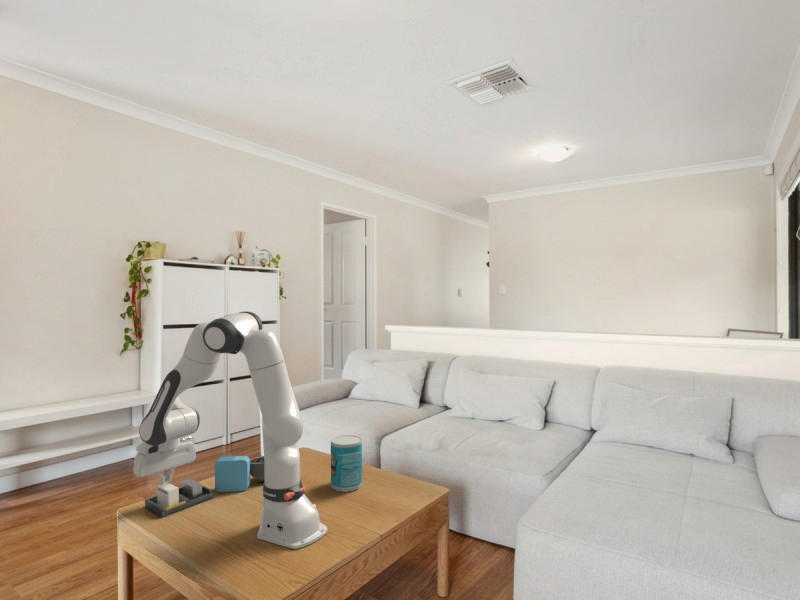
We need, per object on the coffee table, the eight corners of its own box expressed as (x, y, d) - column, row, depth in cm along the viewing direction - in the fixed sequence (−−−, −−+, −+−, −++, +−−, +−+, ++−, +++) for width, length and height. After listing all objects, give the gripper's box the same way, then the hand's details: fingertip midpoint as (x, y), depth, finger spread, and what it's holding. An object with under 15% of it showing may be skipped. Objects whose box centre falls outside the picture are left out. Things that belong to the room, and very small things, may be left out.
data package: (250, 486, 177) (250, 455, 177) (247, 491, 173) (247, 459, 172) (218, 487, 176) (218, 456, 176) (214, 492, 171) (214, 461, 171)
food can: (325, 489, 174) (324, 442, 174) (340, 477, 185) (340, 433, 185) (352, 494, 169) (352, 446, 169) (367, 482, 180) (367, 436, 180)
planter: (243, 485, 178) (242, 434, 178) (267, 469, 194) (267, 422, 194) (276, 489, 174) (276, 437, 173) (298, 473, 190) (298, 425, 189)
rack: (213, 498, 166) (213, 482, 166) (162, 518, 152) (161, 500, 152) (195, 490, 174) (195, 474, 174) (145, 508, 159) (144, 491, 159)
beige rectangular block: (178, 506, 158) (178, 487, 158) (168, 510, 155) (168, 491, 155) (167, 500, 163) (167, 482, 163) (157, 504, 160) (156, 485, 160)
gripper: (190, 433, 169) (189, 470, 169) (131, 447, 152) (131, 489, 152) (199, 436, 165) (199, 474, 165) (140, 451, 149) (140, 493, 149)
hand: (166, 481), depth 159 cm, fingers closed
